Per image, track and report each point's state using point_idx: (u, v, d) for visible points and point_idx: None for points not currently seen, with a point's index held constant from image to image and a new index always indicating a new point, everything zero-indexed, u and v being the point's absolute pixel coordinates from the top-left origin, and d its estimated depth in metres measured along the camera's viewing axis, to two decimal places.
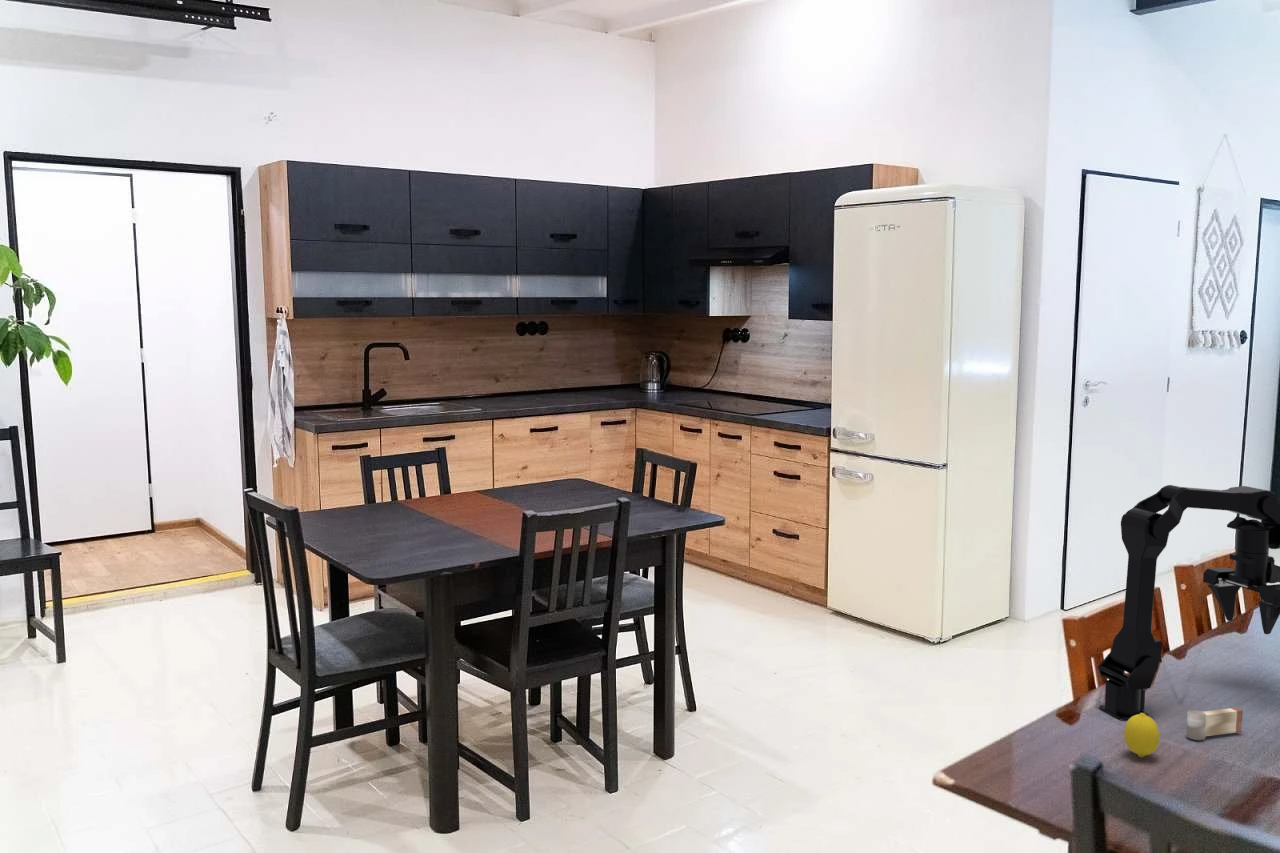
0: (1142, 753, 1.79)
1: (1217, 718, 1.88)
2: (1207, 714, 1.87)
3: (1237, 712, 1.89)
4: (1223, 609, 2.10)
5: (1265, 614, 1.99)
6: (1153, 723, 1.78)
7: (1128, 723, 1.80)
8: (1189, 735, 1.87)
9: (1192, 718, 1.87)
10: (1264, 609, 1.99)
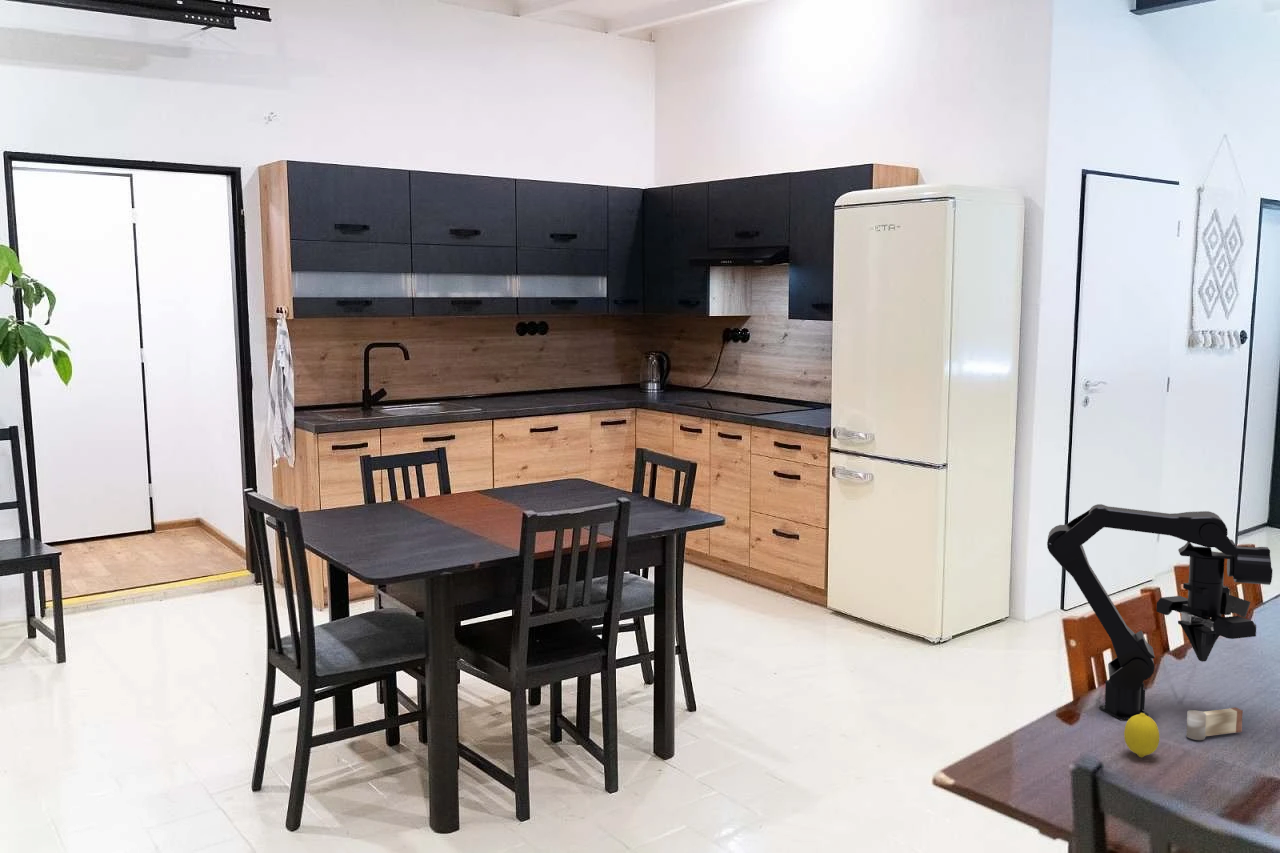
0: (1142, 753, 1.79)
1: (1217, 718, 1.88)
2: (1207, 714, 1.87)
3: (1237, 712, 1.89)
4: (1194, 648, 1.94)
5: (1200, 640, 1.91)
6: (1153, 723, 1.78)
7: (1128, 723, 1.80)
8: (1189, 735, 1.87)
9: (1192, 718, 1.87)
10: (1199, 636, 1.91)
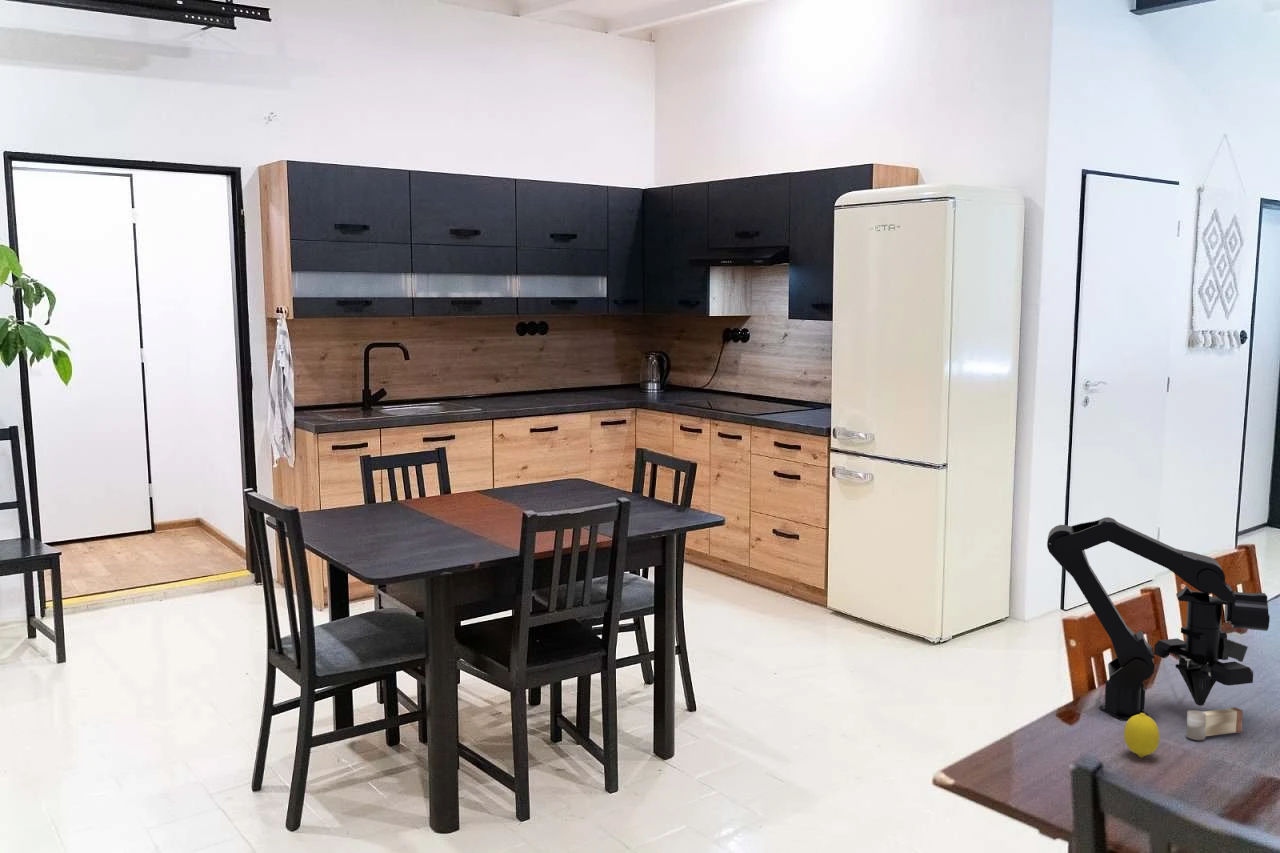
0: (1142, 753, 1.79)
1: (1217, 718, 1.88)
2: (1207, 714, 1.87)
3: (1237, 712, 1.89)
4: (1192, 692, 1.95)
5: (1198, 685, 1.92)
6: (1153, 723, 1.78)
7: (1128, 723, 1.80)
8: (1189, 735, 1.87)
9: (1192, 718, 1.87)
10: (1196, 680, 1.92)
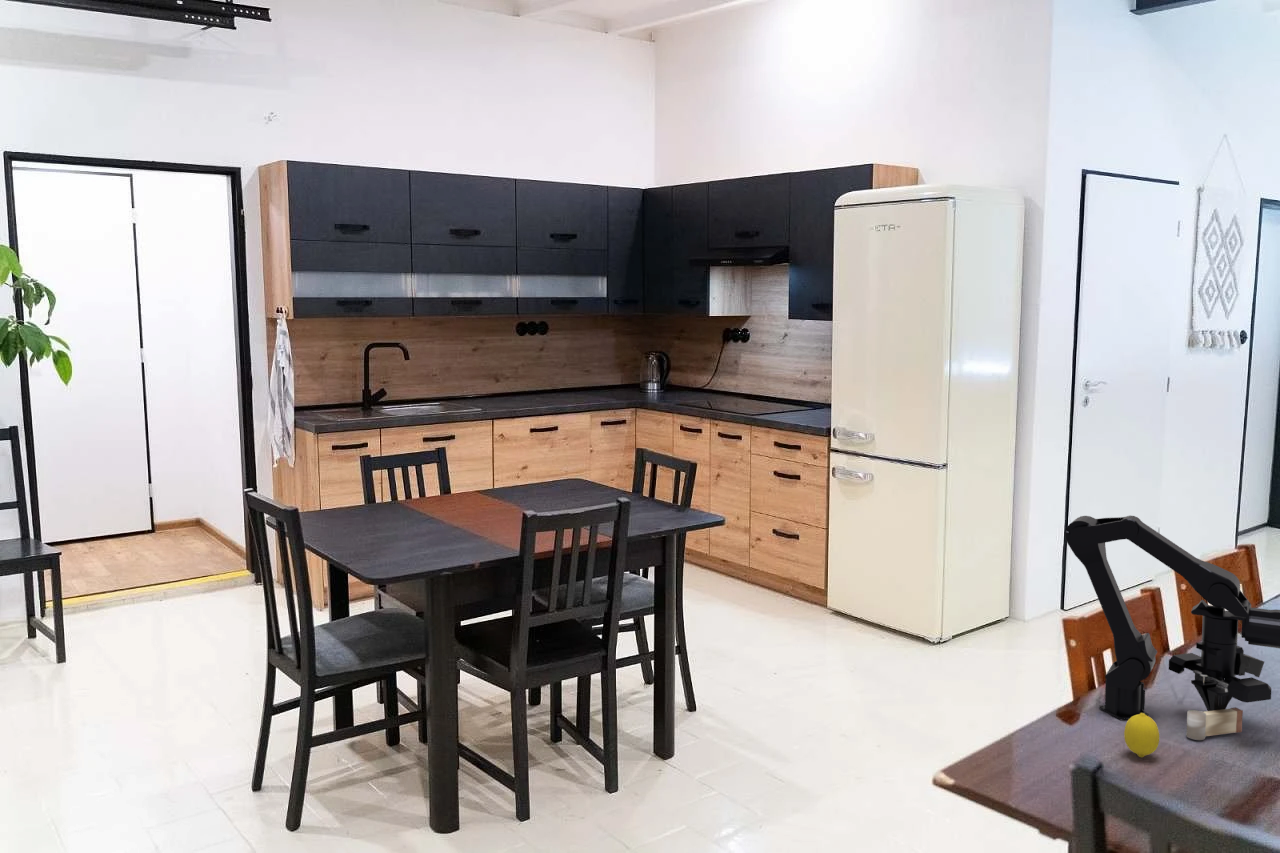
0: (1142, 753, 1.79)
1: (1217, 718, 1.88)
2: (1207, 714, 1.87)
3: (1237, 712, 1.89)
4: (1208, 708, 1.92)
5: (1214, 701, 1.89)
6: (1153, 723, 1.78)
7: (1128, 723, 1.80)
8: (1189, 735, 1.87)
9: (1192, 718, 1.87)
10: (1212, 697, 1.89)
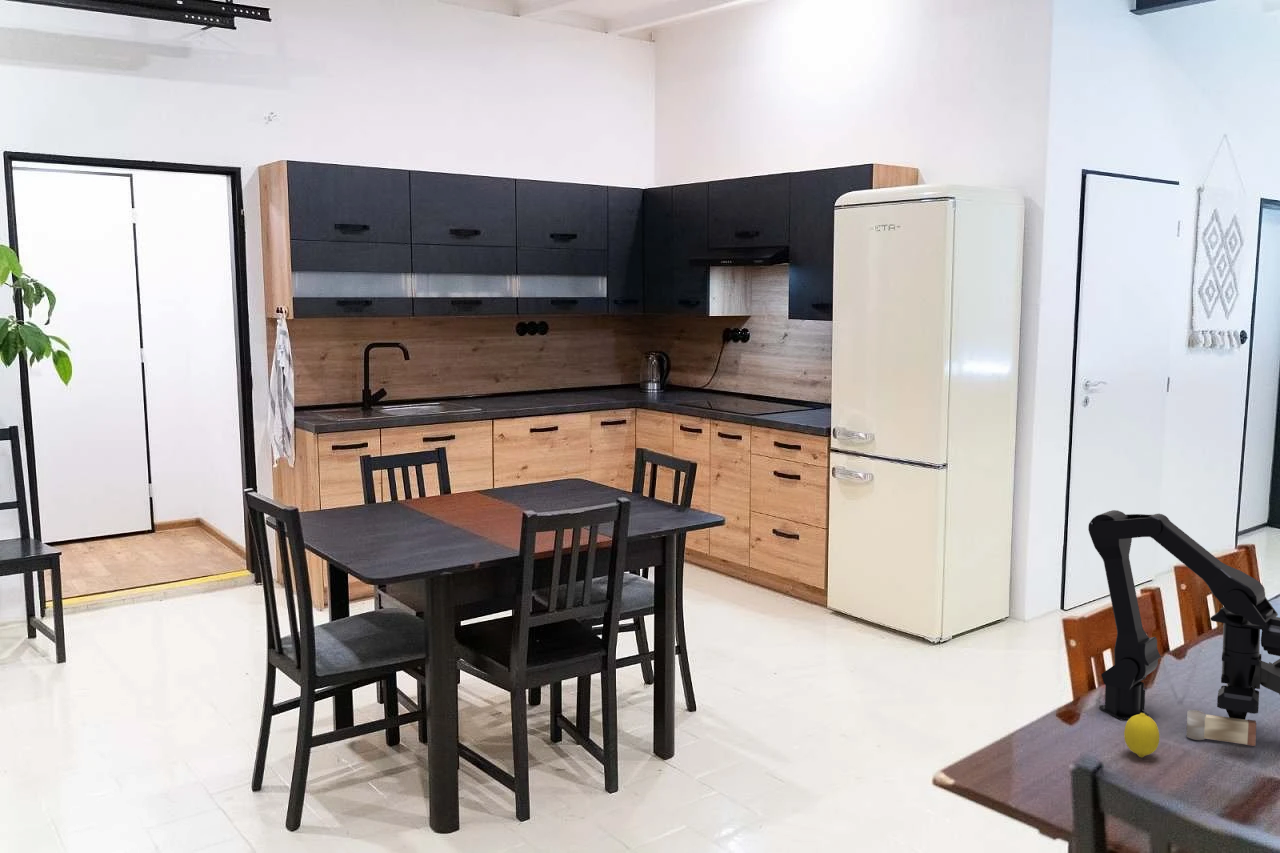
0: (1142, 753, 1.79)
1: (1221, 724, 1.85)
2: (1208, 717, 1.86)
3: (1249, 724, 1.83)
4: None
5: None
6: (1153, 723, 1.78)
7: (1128, 723, 1.80)
8: (1186, 733, 1.88)
9: (1187, 716, 1.88)
10: None
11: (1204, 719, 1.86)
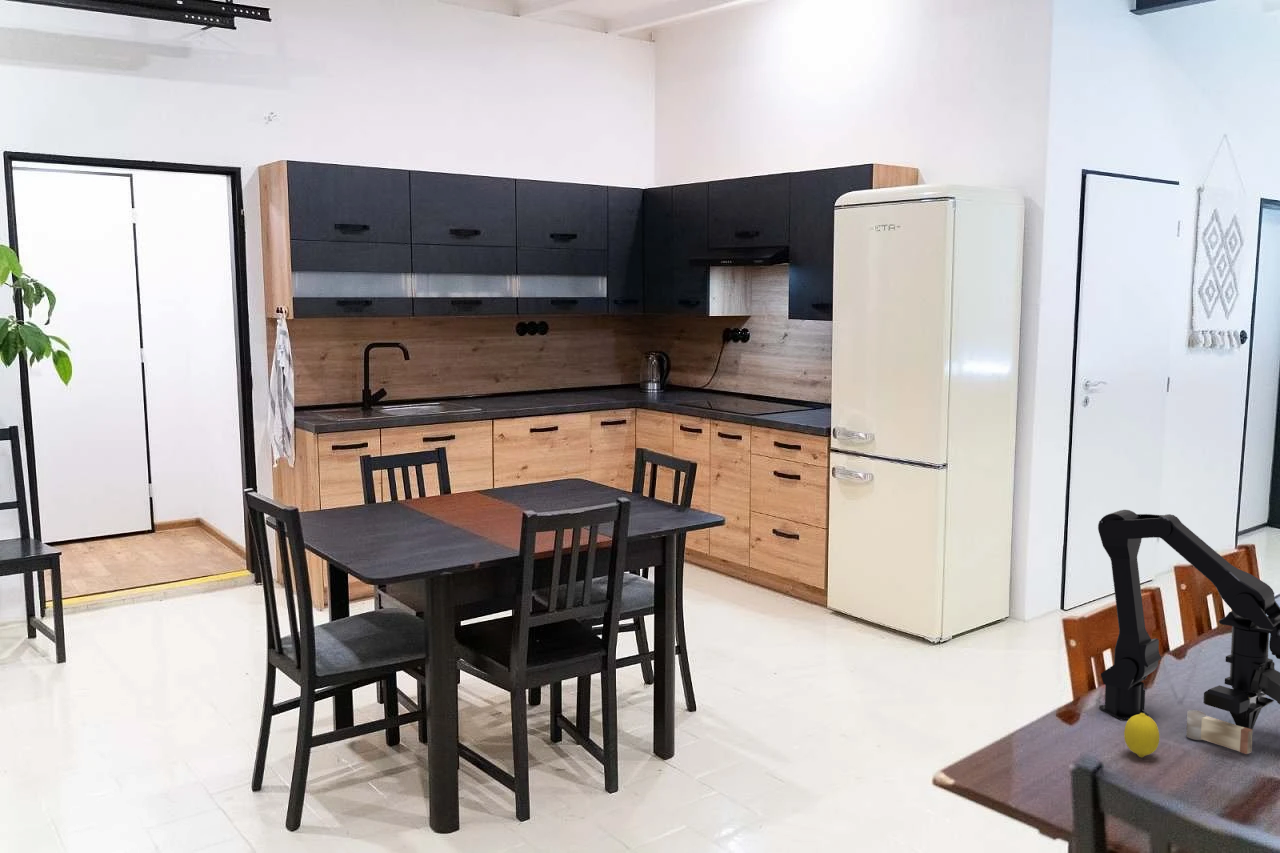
0: (1142, 753, 1.79)
1: (1216, 727, 1.84)
2: (1205, 718, 1.86)
3: (1241, 731, 1.80)
4: None
5: None
6: (1153, 723, 1.78)
7: (1128, 723, 1.80)
8: None
9: (1187, 715, 1.88)
10: None
11: (1200, 719, 1.86)
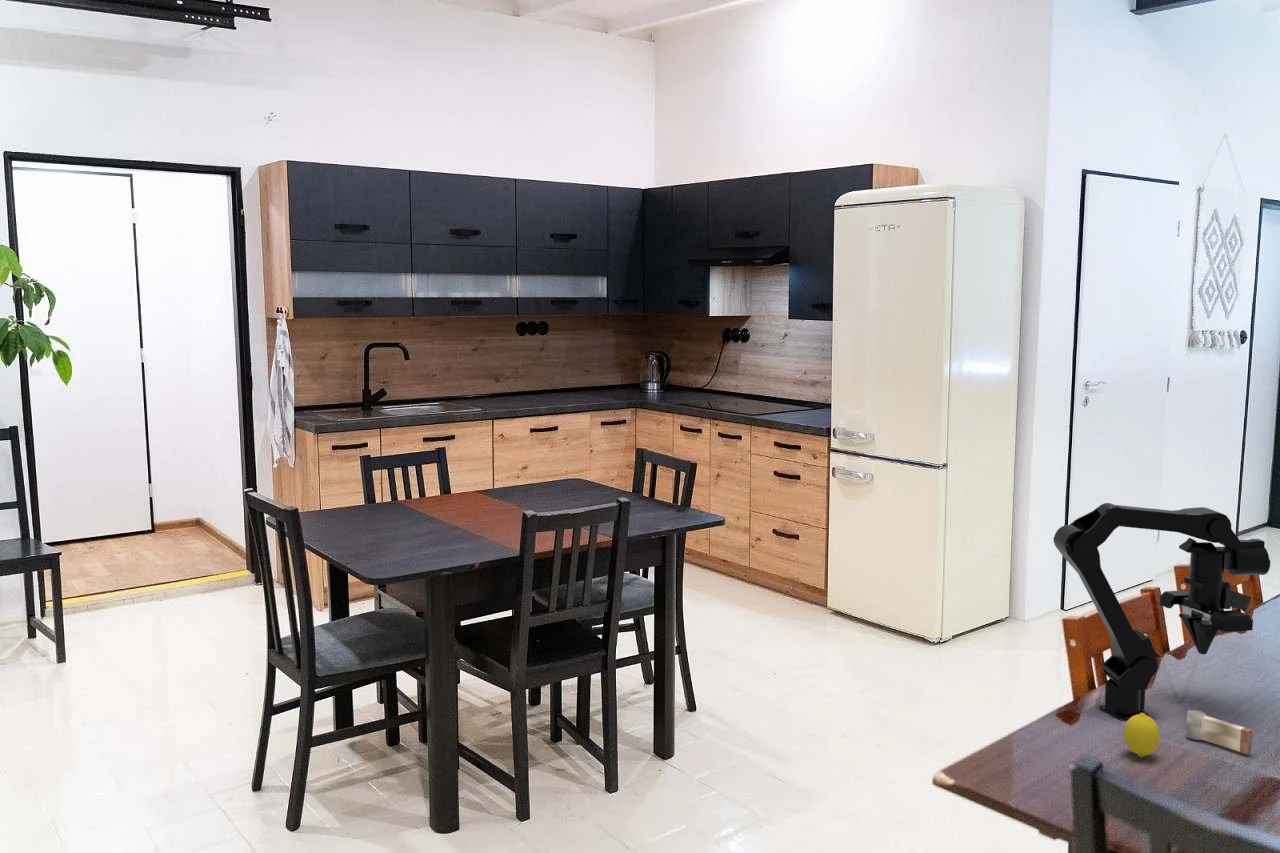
0: (1142, 753, 1.79)
1: (1216, 727, 1.84)
2: (1205, 718, 1.86)
3: (1241, 731, 1.80)
4: (1194, 641, 1.99)
5: (1199, 633, 1.96)
6: (1153, 723, 1.78)
7: (1128, 723, 1.80)
8: None
9: (1187, 715, 1.88)
10: (1198, 629, 1.96)
11: (1200, 719, 1.86)
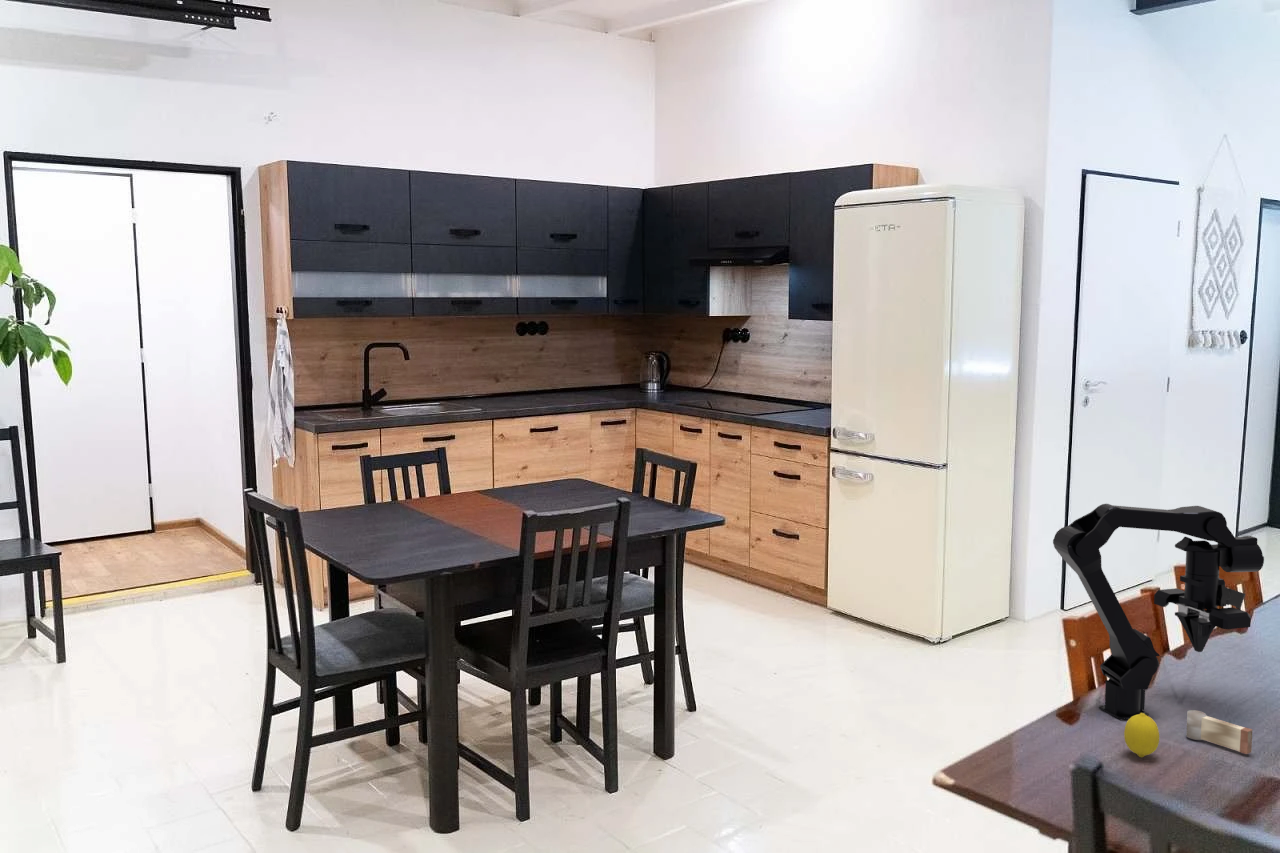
0: (1142, 753, 1.79)
1: (1216, 727, 1.84)
2: (1205, 718, 1.86)
3: (1241, 731, 1.80)
4: (1191, 639, 2.00)
5: (1197, 631, 1.97)
6: (1153, 723, 1.78)
7: (1128, 723, 1.80)
8: None
9: (1187, 715, 1.88)
10: (1195, 627, 1.97)
11: (1200, 719, 1.86)
